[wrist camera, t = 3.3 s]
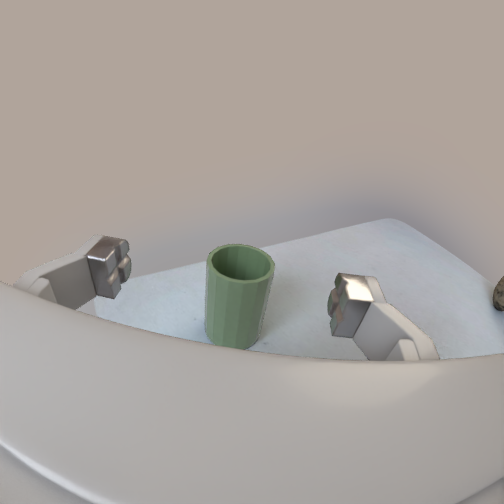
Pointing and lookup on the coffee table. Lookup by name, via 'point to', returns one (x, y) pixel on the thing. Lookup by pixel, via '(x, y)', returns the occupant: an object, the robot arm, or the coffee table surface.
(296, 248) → the coffee table surface
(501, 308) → the decorative egg
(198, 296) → the coffee table surface
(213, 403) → the robot arm
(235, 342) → the cup
